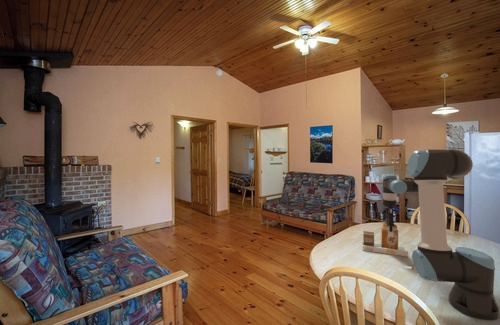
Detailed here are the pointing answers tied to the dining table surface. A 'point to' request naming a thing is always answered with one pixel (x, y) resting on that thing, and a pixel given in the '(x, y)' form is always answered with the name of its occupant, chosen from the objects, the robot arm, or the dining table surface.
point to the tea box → (368, 238)
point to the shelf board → (386, 250)
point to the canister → (389, 241)
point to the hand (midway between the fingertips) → (389, 233)
